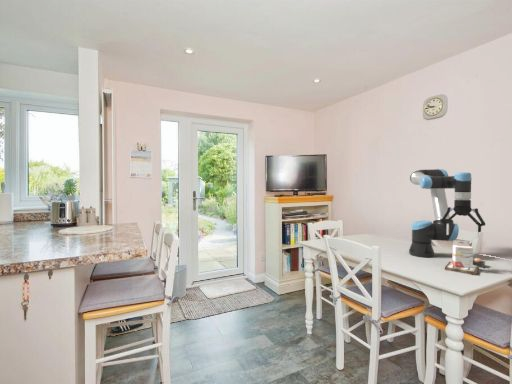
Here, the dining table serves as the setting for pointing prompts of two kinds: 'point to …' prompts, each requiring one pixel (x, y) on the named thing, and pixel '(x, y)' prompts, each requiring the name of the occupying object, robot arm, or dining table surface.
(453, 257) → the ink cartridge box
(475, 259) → the button
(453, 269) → the brown divided square tray
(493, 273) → the dining table surface
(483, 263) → the button housing
